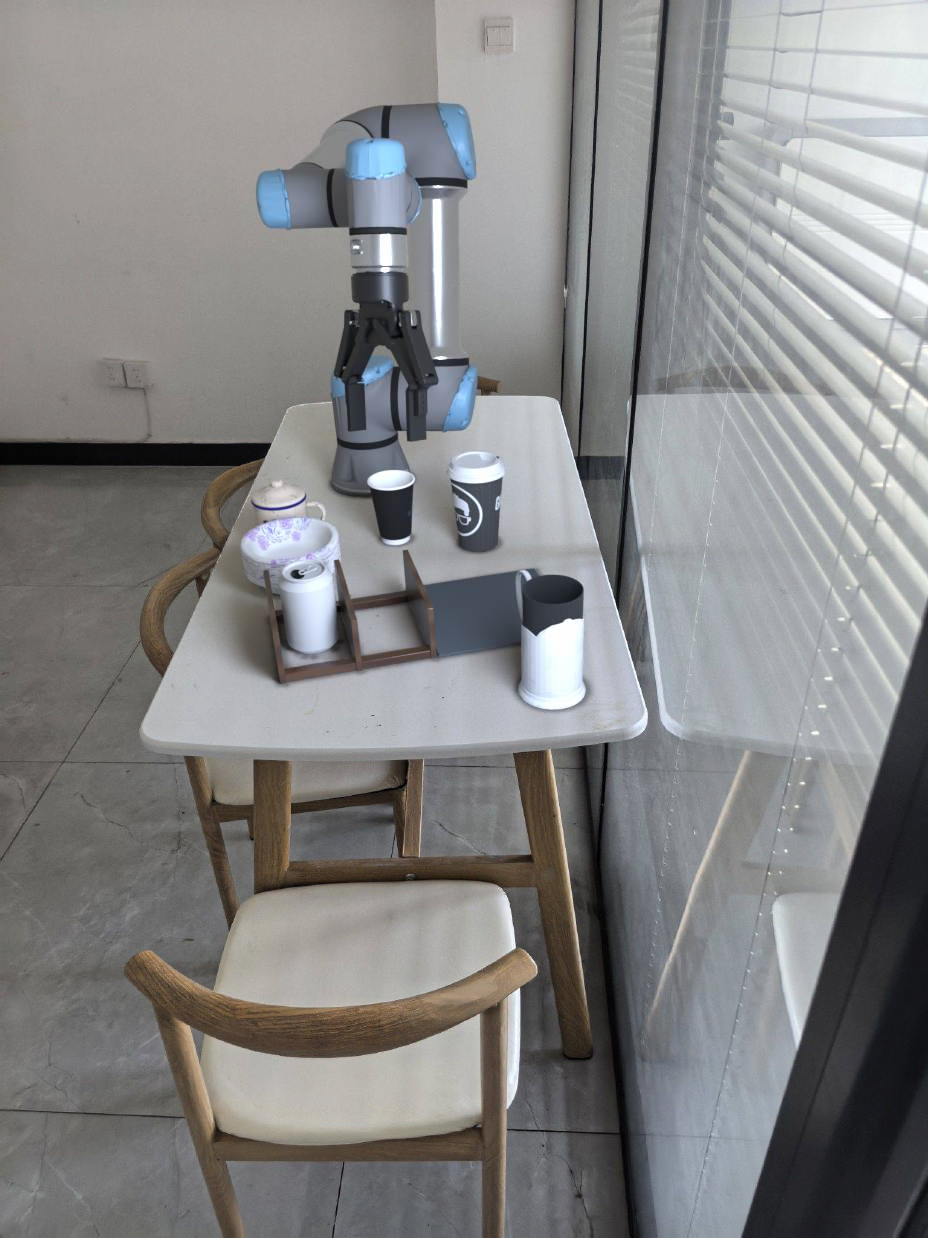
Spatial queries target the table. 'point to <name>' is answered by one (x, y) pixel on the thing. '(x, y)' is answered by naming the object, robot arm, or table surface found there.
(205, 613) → the table surface
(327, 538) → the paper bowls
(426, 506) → the table surface
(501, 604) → the mat
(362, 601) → the rack
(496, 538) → the coffee cup
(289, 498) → the teacup with lid
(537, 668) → the glass holder
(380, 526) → the dixie cup
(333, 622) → the can
